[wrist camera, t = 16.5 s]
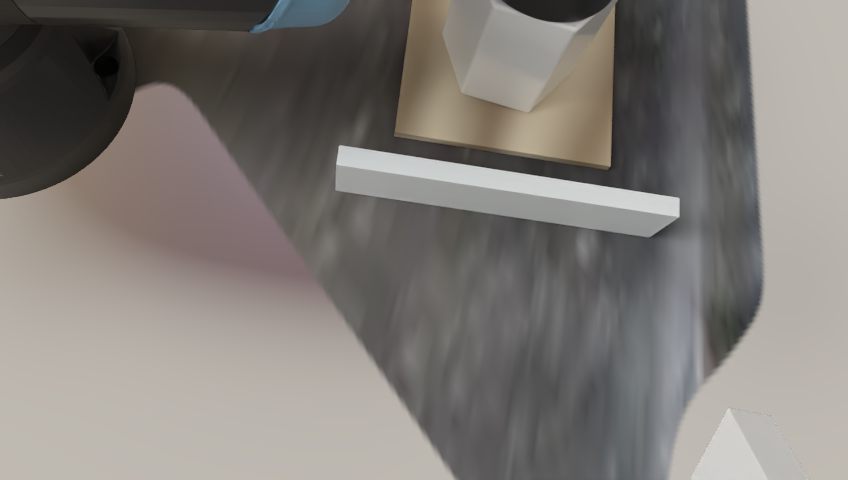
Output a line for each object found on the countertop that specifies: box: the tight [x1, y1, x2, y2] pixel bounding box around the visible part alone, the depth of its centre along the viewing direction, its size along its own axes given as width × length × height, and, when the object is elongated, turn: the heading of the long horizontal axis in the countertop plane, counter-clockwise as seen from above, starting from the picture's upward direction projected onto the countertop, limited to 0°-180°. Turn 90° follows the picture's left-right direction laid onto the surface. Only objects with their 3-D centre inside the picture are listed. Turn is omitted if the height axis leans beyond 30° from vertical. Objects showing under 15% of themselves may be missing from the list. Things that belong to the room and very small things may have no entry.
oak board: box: [394, 0, 615, 170], centre depth 46 cm, size 14×14×1 cm
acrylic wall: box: [335, 145, 679, 237], centre depth 42 cm, size 20×1×4 cm, turn 84°
